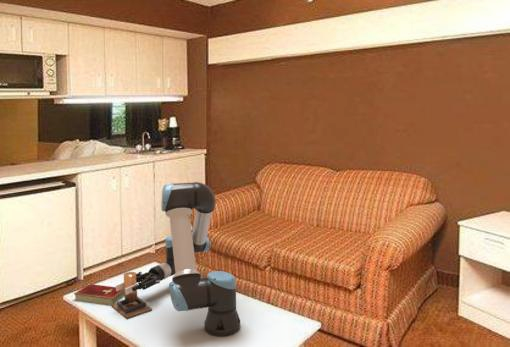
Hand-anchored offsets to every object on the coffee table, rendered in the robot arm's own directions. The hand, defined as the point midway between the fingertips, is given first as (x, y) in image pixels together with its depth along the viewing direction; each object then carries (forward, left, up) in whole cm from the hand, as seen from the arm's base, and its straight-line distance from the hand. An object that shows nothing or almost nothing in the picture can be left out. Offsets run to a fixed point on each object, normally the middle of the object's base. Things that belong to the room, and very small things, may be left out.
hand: (121, 289), depth 189 cm
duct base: (+1, -5, -11) cm, 12 cm away
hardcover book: (+22, +1, -12) cm, 25 cm away
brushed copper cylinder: (+1, -5, -6) cm, 8 cm away
